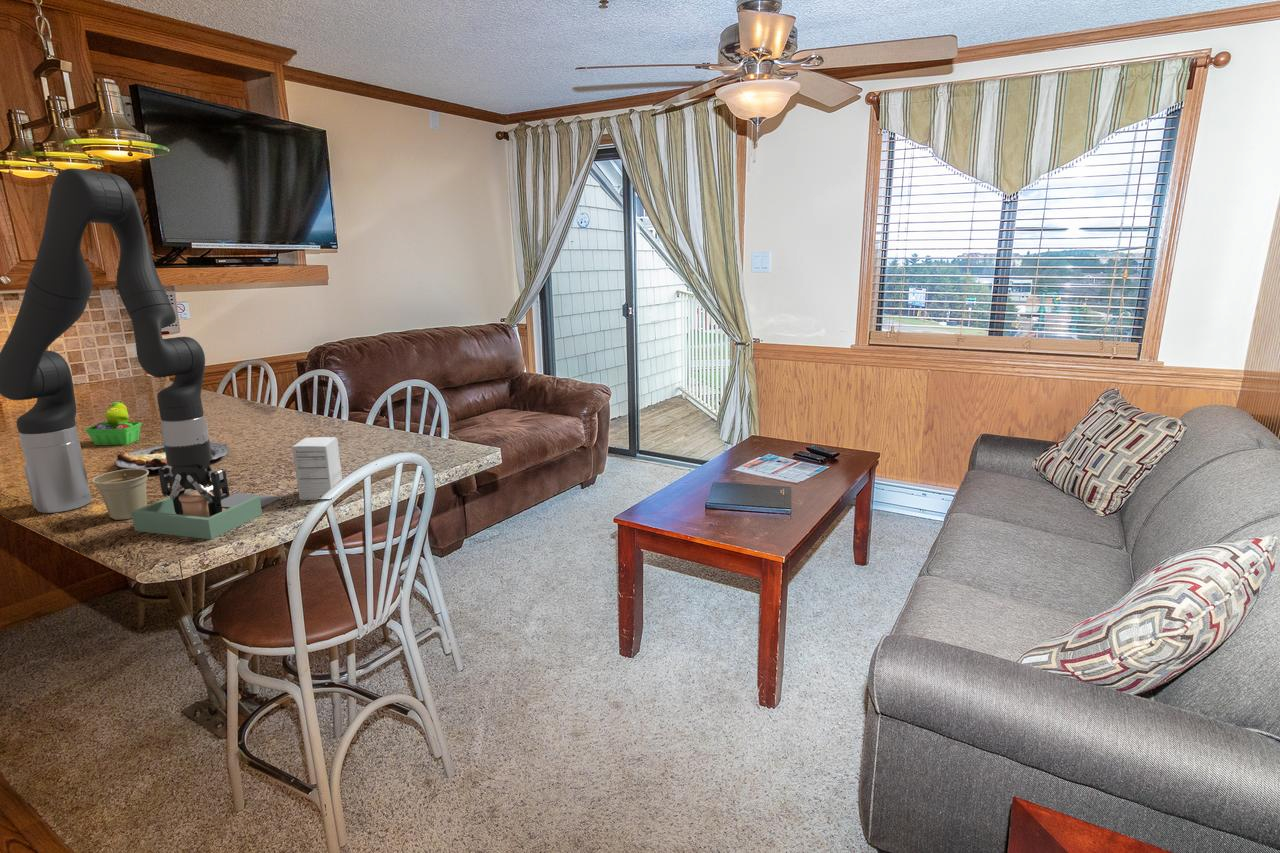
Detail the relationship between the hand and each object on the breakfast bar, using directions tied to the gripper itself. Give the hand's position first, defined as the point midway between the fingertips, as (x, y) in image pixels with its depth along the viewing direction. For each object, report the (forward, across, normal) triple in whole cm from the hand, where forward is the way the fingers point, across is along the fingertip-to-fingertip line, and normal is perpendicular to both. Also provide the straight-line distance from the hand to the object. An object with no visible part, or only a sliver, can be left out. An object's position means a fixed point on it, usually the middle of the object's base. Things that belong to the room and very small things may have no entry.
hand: (199, 516), depth 137 cm
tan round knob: (+1, 0, 0) cm, 1 cm away
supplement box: (+1, +13, +20) cm, 24 cm away
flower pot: (+1, -18, 0) cm, 18 cm away
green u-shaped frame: (+1, 0, 0) cm, 1 cm away
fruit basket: (+1, -72, +44) cm, 84 cm away
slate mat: (+1, 0, +12) cm, 12 cm away
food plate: (+2, -41, +33) cm, 53 cm away
